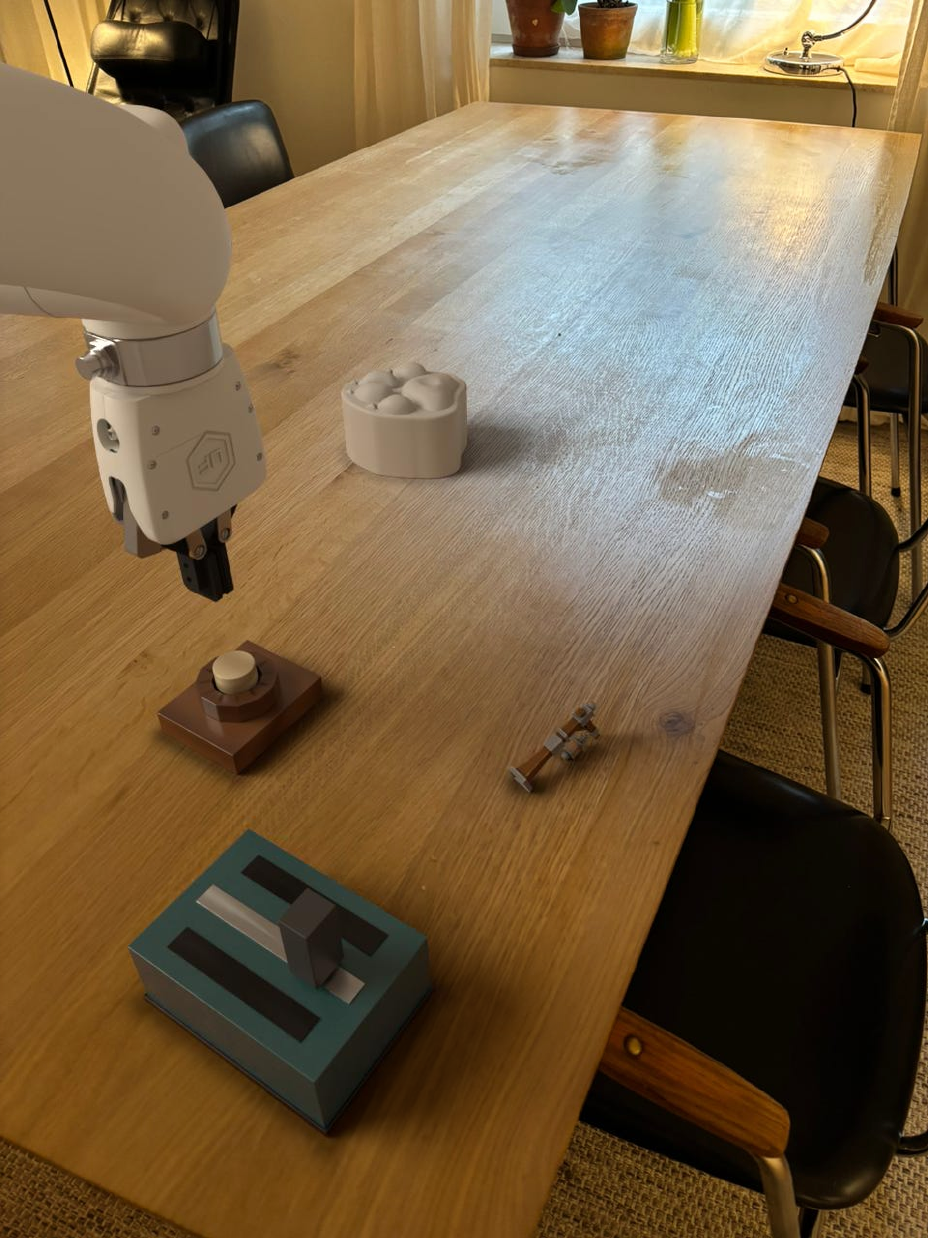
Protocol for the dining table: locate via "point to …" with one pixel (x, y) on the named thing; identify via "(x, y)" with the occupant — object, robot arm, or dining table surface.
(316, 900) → the slider
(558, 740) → the wooden post with brackets
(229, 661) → the button
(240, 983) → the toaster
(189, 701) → the control block
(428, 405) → the lumpy-topped squat cylinder
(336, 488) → the dining table surface
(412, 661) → the dining table surface
